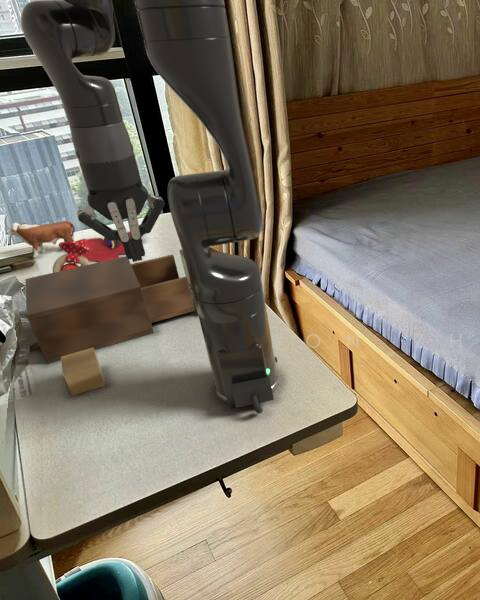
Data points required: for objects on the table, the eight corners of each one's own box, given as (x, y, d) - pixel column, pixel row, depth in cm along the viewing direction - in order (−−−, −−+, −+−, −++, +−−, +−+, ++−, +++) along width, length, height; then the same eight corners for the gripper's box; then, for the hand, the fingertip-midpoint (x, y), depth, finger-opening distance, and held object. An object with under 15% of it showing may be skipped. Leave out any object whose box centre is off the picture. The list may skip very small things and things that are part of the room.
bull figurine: (20, 253, 128) (7, 221, 124) (82, 245, 131) (71, 213, 127) (14, 261, 125) (1, 228, 120) (79, 252, 128) (67, 220, 124)
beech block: (105, 385, 84) (96, 361, 82) (72, 396, 82) (62, 372, 80) (102, 370, 88) (93, 347, 86) (70, 380, 86) (60, 356, 84)
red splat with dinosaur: (146, 268, 127) (143, 251, 124) (76, 277, 121) (70, 259, 119) (142, 231, 140) (138, 215, 137) (78, 238, 134) (73, 221, 131)
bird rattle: (75, 306, 110) (114, 281, 111) (32, 265, 104) (74, 239, 105) (77, 292, 115) (115, 269, 116) (36, 253, 109) (76, 228, 110)
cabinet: (140, 298, 108) (127, 255, 103) (154, 332, 97) (140, 286, 92) (43, 323, 101) (25, 278, 96) (47, 363, 90) (26, 315, 85)
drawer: (223, 273, 115) (217, 241, 111) (243, 300, 105) (237, 265, 101) (110, 303, 105) (99, 268, 101) (120, 335, 95) (108, 298, 91)
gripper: (148, 142, 86) (174, 242, 95) (54, 155, 80) (90, 260, 89) (157, 152, 80) (183, 258, 89) (56, 167, 75) (94, 278, 83)
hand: (136, 259), depth 89 cm, fingers closed
